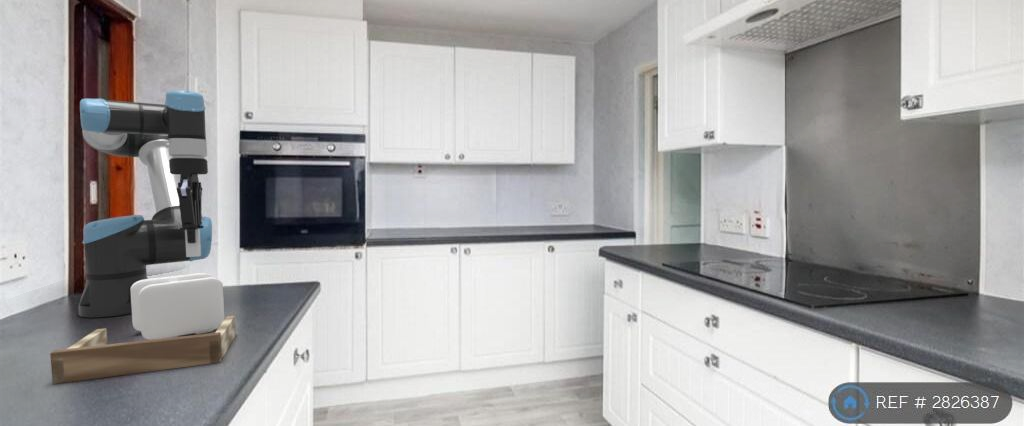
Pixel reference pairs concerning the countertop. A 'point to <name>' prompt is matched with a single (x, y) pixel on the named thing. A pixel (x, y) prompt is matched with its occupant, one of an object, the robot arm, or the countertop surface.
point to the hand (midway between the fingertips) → (193, 256)
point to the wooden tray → (138, 354)
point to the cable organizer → (177, 305)
